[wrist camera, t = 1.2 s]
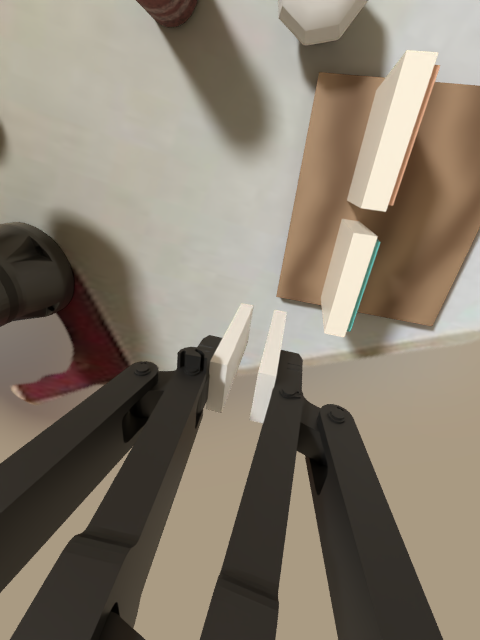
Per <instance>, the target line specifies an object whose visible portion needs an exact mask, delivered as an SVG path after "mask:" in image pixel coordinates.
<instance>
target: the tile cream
mask: <svg viewBox="0 0 480 640" xmlns="http://www.w3.org/2000/svg"><path fill="white" fill-rule="evenodd" d="M437 55H438V52H425V51H411V50H407V51H406V52H405V53H404V55H403V56H402V57H401V58H400V60H399V61H398V62H397V64H396V65H395V66H394V68H393V69H392V70H391V72H390V73H389V74H388V76H387V77H386V78H385V79H384V81H383V82H382V83H381V85H380V86H379V87H378V89H377V90H376V93H375V97H374V101H373V104H372V108H371V112H370V116H369V119H368V123H367V127H366V131H365V134H364V138H363V142H362V145H361V149H360V153H359V157H358V160H357V164H356V168H355V172H354V175H353V179H352V183H351V187H350V190H349V194H348V198H347V201H349V202H351V203H352V204H354V205H356V206H358V207H360V208H363V209H370V210H377V211H384V212H386V210H387V207H388V205H392V206H393V204H394V201H395V198H396V195H397V192H398V189H399V186H400V183H401V180H402V177H403V174H404V171H405V168H406V165H407V162H408V160H409V157H410V154H411V151H412V148H413V145H414V142H415V139H416V136H417V133H418V130H419V127H420V124H421V121H422V118H423V115H424V112H425V109H426V106H427V103H428V100H429V97H430V94H431V91H432V88H433V85H434V82H435V79H436V77H437V74H438V71H439V68H440V65H435V62H436V59H437Z"/></svg>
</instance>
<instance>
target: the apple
mask: <svg viewBox="0 0 480 640" xmlns="http://www.w3.org/2000/svg"><path fill="white" fill-rule="evenodd" d="M367 1H368V0H278V9H279V19H280V20H281V21H282V22H283V23H284V25H285V26H286V27H287V28H288V29H289V30H290V31H291V32H292V33H293V34H294V35H295V36H296V38H297V39H298V40H299V41H300V42H301V43H302V44H303V45H312V44H318V43H325V42H331V41H336V40H338V39H340V37H341V36H342V35H343V33H344V32H345V31H346V29H347V28H348V27H349V25H350V24H351V23H352V21H353V20H354V19H355V17H356V16H357V15H358V13H359V12H360V10H361V9H362V8H363V6H364V5H365V4H366V2H367Z"/></svg>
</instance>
